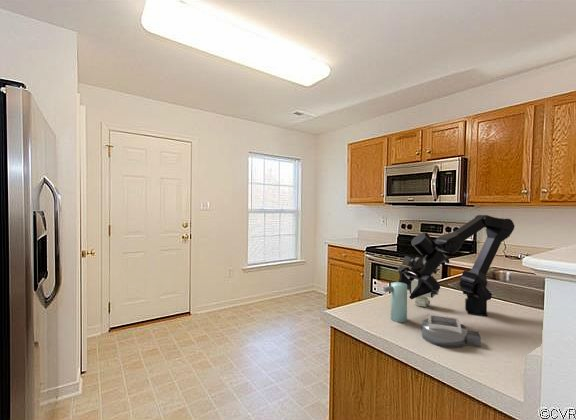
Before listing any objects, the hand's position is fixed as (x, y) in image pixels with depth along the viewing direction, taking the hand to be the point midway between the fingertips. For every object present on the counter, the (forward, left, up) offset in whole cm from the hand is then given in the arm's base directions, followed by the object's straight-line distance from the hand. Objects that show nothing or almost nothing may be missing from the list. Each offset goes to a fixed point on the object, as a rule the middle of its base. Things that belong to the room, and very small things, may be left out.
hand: (402, 294), depth 110 cm
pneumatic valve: (-7, -19, -9) cm, 22 cm away
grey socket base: (-14, +12, -9) cm, 21 cm away
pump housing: (+2, +2, -9) cm, 10 cm away
